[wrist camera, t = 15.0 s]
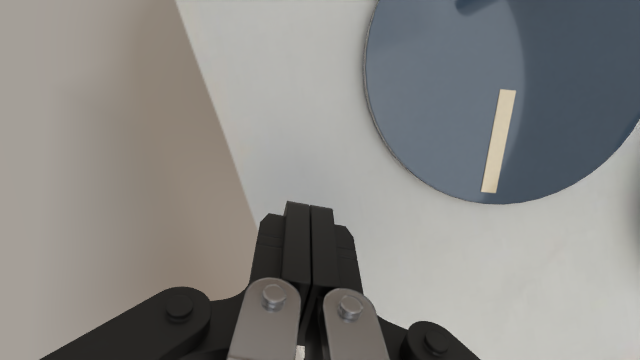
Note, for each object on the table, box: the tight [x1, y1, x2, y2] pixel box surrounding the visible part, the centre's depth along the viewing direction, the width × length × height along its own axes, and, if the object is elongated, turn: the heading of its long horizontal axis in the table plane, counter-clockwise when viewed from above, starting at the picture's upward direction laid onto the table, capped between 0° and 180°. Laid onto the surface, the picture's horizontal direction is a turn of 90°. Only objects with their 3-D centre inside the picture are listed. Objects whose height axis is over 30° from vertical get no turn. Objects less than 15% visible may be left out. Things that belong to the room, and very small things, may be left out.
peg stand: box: [363, 0, 640, 204], centre depth 23 cm, size 22×22×14 cm
